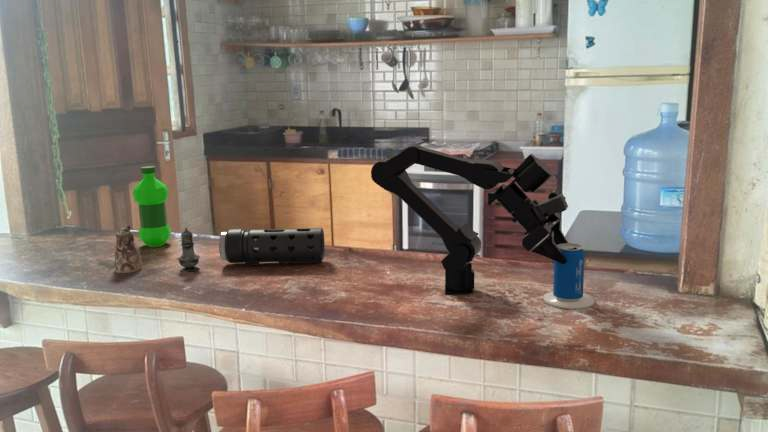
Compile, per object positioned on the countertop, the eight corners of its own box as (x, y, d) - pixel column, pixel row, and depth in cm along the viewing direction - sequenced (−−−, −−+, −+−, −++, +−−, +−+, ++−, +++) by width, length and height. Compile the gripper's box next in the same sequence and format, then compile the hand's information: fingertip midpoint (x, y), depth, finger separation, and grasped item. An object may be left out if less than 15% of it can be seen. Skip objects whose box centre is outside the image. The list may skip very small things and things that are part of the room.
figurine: (109, 272, 182) (104, 229, 179) (126, 264, 188) (122, 223, 186) (130, 273, 180) (125, 230, 177) (147, 266, 186) (143, 225, 184)
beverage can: (567, 304, 144) (569, 251, 142) (547, 296, 150) (548, 245, 147) (589, 299, 147) (591, 247, 145) (568, 291, 153) (569, 241, 150)
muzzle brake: (321, 268, 180) (319, 231, 178) (219, 270, 181) (216, 233, 179) (325, 258, 190) (323, 223, 187) (228, 260, 190) (225, 225, 188)
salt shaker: (187, 274, 177) (183, 231, 175) (174, 271, 181) (170, 228, 178) (205, 269, 182) (201, 226, 179) (192, 266, 185) (188, 224, 183)
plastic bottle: (162, 249, 205) (154, 169, 200) (132, 248, 207) (123, 169, 202) (179, 241, 214) (171, 165, 209) (150, 240, 217) (142, 164, 212)
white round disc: (547, 309, 144) (547, 306, 144) (540, 292, 154) (540, 290, 154) (599, 309, 143) (599, 306, 143) (588, 292, 153) (588, 290, 153)
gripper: (539, 189, 137) (592, 244, 135) (552, 175, 153) (599, 225, 152) (500, 223, 141) (551, 278, 139) (517, 207, 158) (563, 255, 156)
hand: (568, 257), depth 147 cm, fingers open, 9 cm apart
